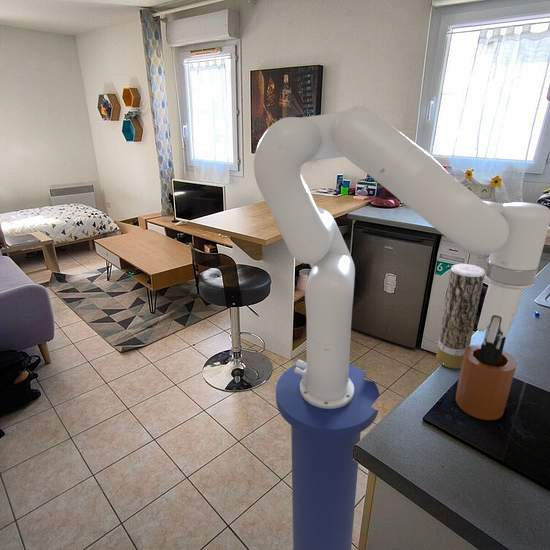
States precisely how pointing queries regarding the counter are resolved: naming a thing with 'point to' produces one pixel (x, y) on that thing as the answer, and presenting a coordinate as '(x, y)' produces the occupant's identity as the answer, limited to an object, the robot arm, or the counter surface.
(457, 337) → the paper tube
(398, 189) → the robot arm
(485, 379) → the orange hollow cylinder
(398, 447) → the counter surface
